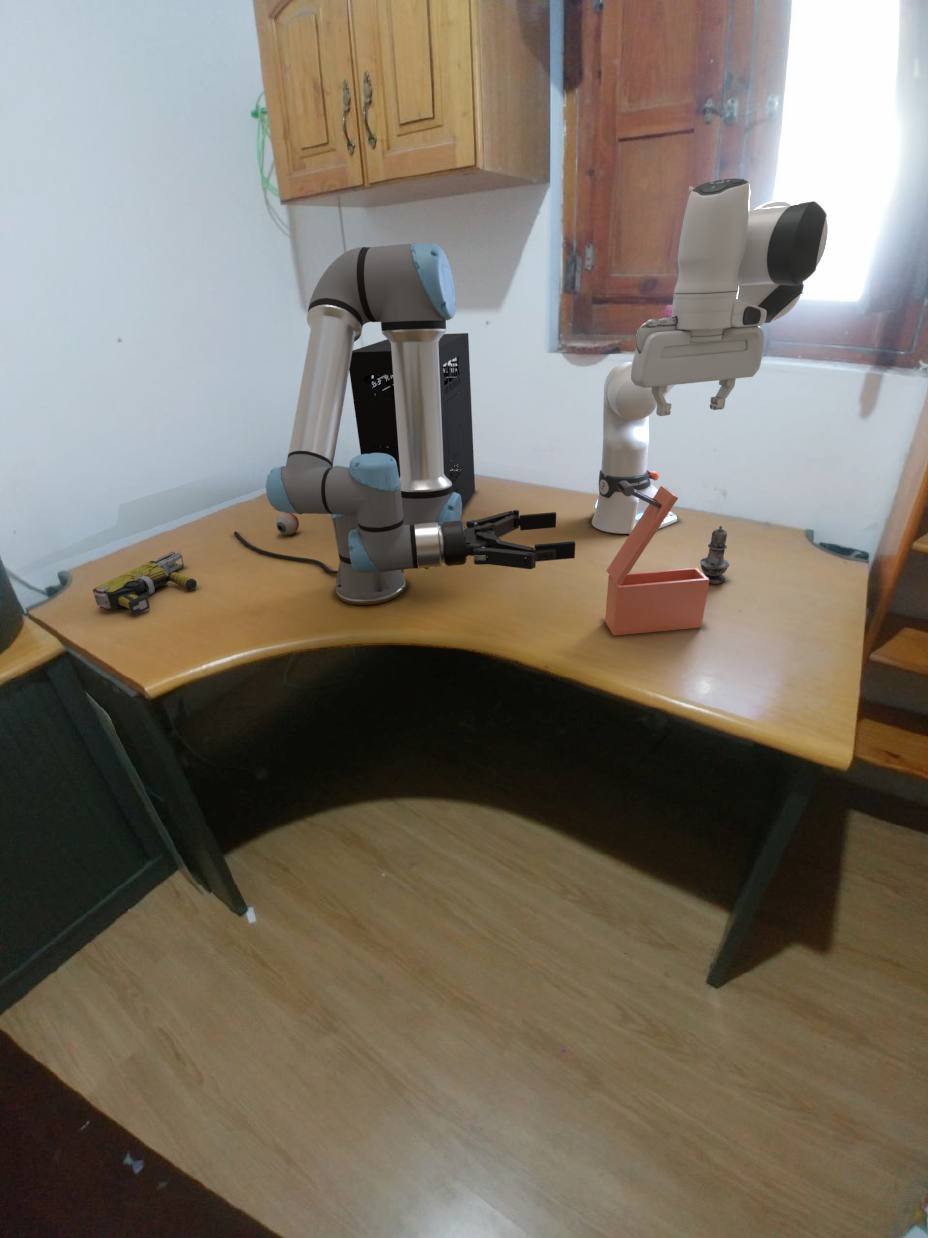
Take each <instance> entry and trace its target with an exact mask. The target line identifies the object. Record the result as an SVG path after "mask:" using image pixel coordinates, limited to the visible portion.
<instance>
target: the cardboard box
mask: <svg viewBox="0 0 928 1238" xmlns="http://www.w3.org/2000/svg"><path fill="white" fill-rule="evenodd" d="M469 341H470V340H469V332H462V333H461V332H460V333H459V332H458V333H457V332H455V333H444V335H443V336H442V337H441V338H440V340H439V342H438V347H439V371H440V395H441V419H442V443H443V467H444V475H445V476H446V477H447V478H448V479H449V480H450V481H451V482H452V492H456V493H458V494H460V496H461V501H462V511H463V510H464V509H465V507H466V506H467V504H468V503H469V501H470V500H471V499H472V497H473V495H474V494H475V492H476V482H475V480H476V477H475V459H474V457H475V455H474V432H473V412H472V410H473V409H472V388H471V387H472V386H471V367H470V366H471V365H470V364H471V363H470V344H469V343H470V342H469ZM449 363H450V364H449ZM349 379H350V384H351V394H352V401H353V407H354V414H355V415H354V416H355V421H356V429H357V437H358V444H359V453H360V455H362V454H371V453H384V454H388V455H390V456H392V457H393V458H394V459H395V460H396V463H397V469H398V474H399V478H400V462H399V448H398V434H397V420H396V406H395V393H394V379H393V365H392V351H391V343H390V341H389V340H388V339H387V338H386V339H384V340H380V341H377V342H374V343H371V344H368V345H365V346H362V347H358V348H356V349H353V351H352V357H351V362H350V368H349Z"/></svg>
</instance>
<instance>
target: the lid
mask: <svg viewBox="0 0 928 1238" xmlns="http://www.w3.org/2000/svg"><path fill="white" fill-rule="evenodd" d="M618 489H619V490H620V491H621V492H622V493H623V494H624V495H625V496H627V497H628V496H631V495H633V496H635V497H637V498H639V499H641V500H643V501H645V502H647V503H649V505H648V507H647V508H646V510H645V512H644V513H643V515H642V516H641V518H640V519H639V521H638V522H637V524H636V526H635V527H634V529H633V530H632V532H631V533H630V534H628V537H627V538H626V540H625V541H624V543H623V544H622V545H621V547H620V549H619V551H618V552H617V554H616V555H615V557H613V560H612V561H611V563H610V564H609V566H608V568H607V569H606V572H607V573H608V576H609V575H610V576H611V578H612V579H613V581H614V582H615V583H616V584H618V585H621V584H622V582H623V581H624V579H625V578H626V576H627V575H628V573H631V570H632V569H633V568H634V566H635V564H636V563H637V561H638V560H639V558H641V555H642V554H643V552H644V551H645V549H646V548H647V546H648V545H649V543H650V542H651V540H652V539H653V537H654V536H655V534H656V533H657V531H658V530H659V529H658V528H659V527H660V525H661V524H662V522H663V520H664V519H665V517H666V516H667V514H668V513H669V511H670V512H671V510H672V509H673V507H674V506H675V504H676V502H677V501H678V499H679V496H677V495H676V494H674V493H673V492H672V491H670V490H669V488H667V487H665V486H663V485H660V487H659V488H658V489H657V490H658V491H657V493H656V494H655V496H654V498H651V497H649V496H647V495H645V494H643V493H641V492H639V491H637V490H635V489H634V488H633V487H632V486H631V485H630V484H629V483H628V482H627V481H625V480H623V481H620V482H619V484H618Z"/></svg>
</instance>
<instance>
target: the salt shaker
mask: <svg viewBox="0 0 928 1238" xmlns="http://www.w3.org/2000/svg"><path fill="white" fill-rule="evenodd" d="M727 537H728V532H727V531H726V530H725V529H723V526H722V525H720V526H718V528H717V529H714V530H713V531H712V532H711V539H710V543H709V544H708V554H707V556H706V557H703V558H702V559H700V561H699V564H700V568H701V572H702V573H703V574H704V575H705V576H706V577H707V578H708V579H709V584H714V585H715V584H721V583H724V582H726V577H725V576H724V575H723V574H725V573H726V571H727V570H728V568H729V567H730V563H729V561H728V560H727V559H725V550H727V548H728V546H727V545H726V543H727Z"/></svg>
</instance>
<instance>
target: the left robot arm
mask: <svg viewBox="0 0 928 1238" xmlns="http://www.w3.org/2000/svg"><path fill="white" fill-rule="evenodd" d="M456 304H457V301H456V289H455V282H454V277H453V273H452V269H451V266H450V263H449V259H448V257H447V255H446V253H445V251H444V250H443V248H442V247H440V246H439V245H438V244H435V243H420V242H412V243H403V244H401V243H400V244H392V245H391V244H390V245H379V246H368V247H367V246H359V247H355V248H352V249H349V250H347V251H345V252H343V253H342V254H341V255H339V256H338V257H337V258H336V259H334V261H333V262H331V263H330V264H329V266H327V268H326V269H325V271H324V272H323V274H322V275H321V276H320V278H319V280H318V282H317V284H316V285H315V287H314V290H313V292H312V295H311V297H310V299H309V302H308V308H307V313H306V323H307V325H308V327H309V328H310V331H309V337H308V343H307V348H306V354H305V360H304V364H303V369H302V370H303V371H302V376H301V381H300V388H299V393H298V398H297V405H296V408H295V409H296V410H295V415H294V421H293V426H292V431H291V437H290V441H289V442H290V443H289V448H288V454H287V458H286V464H285V466H284V465H281V466H276V467H273V468H272V469H271V470H270V471H269V472H270V473H269V474H267V476H266V481H265V492H266V497H267V500H268V502H269V504H270V506H271V507H272V508H273V509H274V510H275V511H277V512H280V513H285V512H286V513H292V514H294V515H295V514H297V515H303V514H304V515H305V514H306V515H307V514H309V515H311V514H312V515H330V518H331V520H332V525H333V526H332V527H333V532H334V537H335V542H336V548H337V552H338V559H339V563H338V569H337V570H335V569H334V570H333V569H331V568H329V567H328V566H327V565H326V564H325V563H324V562H322V561H320V560H317V559H314V558H307V557H300V556H299V557H298V556H293V555H288V554H287V555H286V554H281V553H277V552H276V553H275V552H271V551H267V550H264V549H261V548H258V547H256V546H254V545H252V544H251V543H250V542H249V541H247V540H246V539H244V538H243V537H242V536H241V535H240V534H239V533H238V532H237V531H236V530H235V531H234V532H233V534H234V535H235V537H236V538H237V539H238V540H239V541H241V542H242V543H243V544H244V545H245V546H246V547H248V548H250V549H251V550H253V551H256V552H258V553H260V554H263V555H266V556H270V557H275V558H278V559H279V558H280V559H285V560H291V561H297V562H307V563H313V564H317V565H319V566H320V567H321V568H322V569H323V570H324V571H326V572H327V573H328V574H331V575H336V580H335V592H336V596H337V598H338V599H339V600H340V601H342V602H343V603H346V604H349V605H354V606H372V605H373V606H374V605H379V604H383V603H387V602H390V601H392V600H394V599H396V598H397V597H399V596H400V595H402V594H403V593H404V591H405V590H406V586H407V584H406V577H405V575H404V571H406V570H413V569H415V570H416V569H424V570H429V569H430V568H438V567H441V566H442V563H443V564H444V565H445V566H447V567H454V566H464V565H465V564H466V563H467V559H468V557H473V565H476V566H483V565H489V566H490V565H491V566H499V567H506V568H515V569H525V570H533V569H535V568H536V565H537V564H536V563H537V562H547V561H549V562H550V561H557V560H568V559H569V560H570V559H575V558H576V541H575V540H572V541H559V542H558V541H557V542H548V543H537V544H534V547H533V546H528V545H525V544H518V543H514V542H510V541H504V540H501V537H504V536H505V535H507V534H509V533H511V532H513V531H515V530H518V529H519V530H520V531H522V532H523V531H531V530H532V531H533V530H545V529H556V528H557V513H556V511H552V512H541V513H531V514H530V513H527V514H520V510H518V509H514V510H508V511H505V512H502V513H497V514H493V515H490V516H486V517H483V518H479V519H474V520H467V521H466V522H465V524H464V523H463V521H462V512H463V510H462V501H461V496H460V494H458V493H456V492H452V482H451V481H450V480H449V479H448V478H447V477H446V476H445V475H444V467H443V443H442V419H441V395H440V371H439V347H438V342H439V340H440V338H441V337H442V336H443V335H444V334H446V332H447V321H450V320H452V319H453V318H454V317H455V315H456ZM367 323H380V328H381V334H382V335H383V336H384V337H385V338H386V340H387V339H388V340H389V341H390V343H391V351H392V365H393V375H392V376H393V379H394V384H393V385H394V393H395V406H396V420H397V434H398V448H399V462H400V478H399V474H398V469H397V463H396V460H395V459H394V458H393V457H392V456H390V455H388V454H384V453H371V454H362V455H361V454H358V455H355V456H354V457H352V459H351V460H350V461H349V467H334V461H335V455H336V449H337V444H338V443H337V442H338V439H339V432H340V426H341V422H342V421H341V420H342V414H343V409H344V404H345V397H346V392H347V391H346V390H347V384H348V380H349V379H348V378H349V375H350V372H349V368H350V362H351V357H352V351H353V350H354V344H355V342H357V341H358V340H359V339H360V338H361V336H362V333H363V326H364V325H366V324H367ZM464 525H465V526H464ZM465 527H466V528H465Z"/></svg>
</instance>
